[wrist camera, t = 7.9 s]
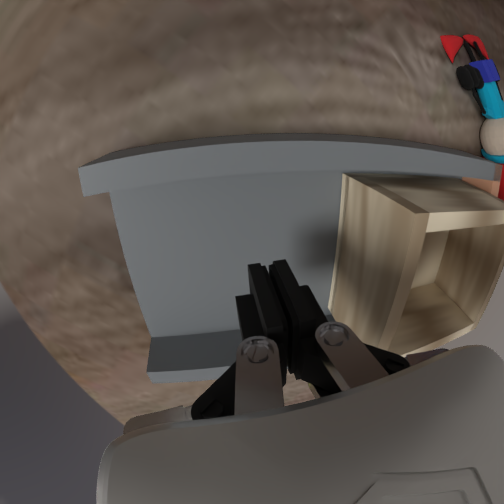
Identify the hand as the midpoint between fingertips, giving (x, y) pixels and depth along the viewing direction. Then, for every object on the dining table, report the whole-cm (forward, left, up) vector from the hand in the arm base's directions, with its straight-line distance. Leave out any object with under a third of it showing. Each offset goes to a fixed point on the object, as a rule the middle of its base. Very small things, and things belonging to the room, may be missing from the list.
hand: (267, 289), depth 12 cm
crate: (0, +10, -3) cm, 10 cm away
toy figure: (-10, +20, -5) cm, 23 cm away
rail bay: (0, +5, -5) cm, 7 cm away
